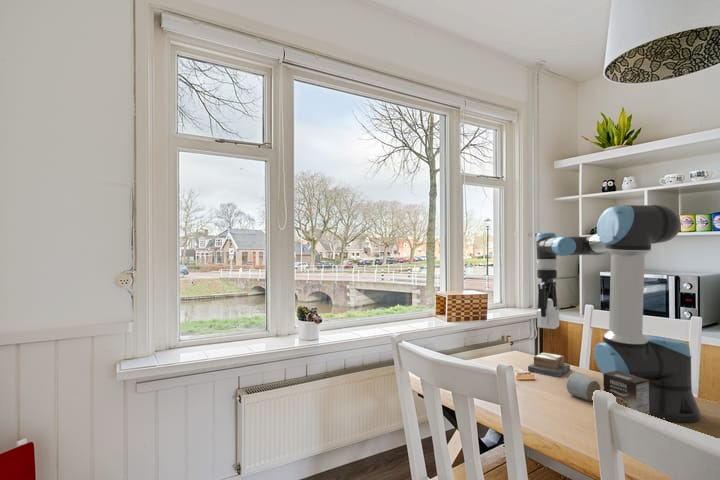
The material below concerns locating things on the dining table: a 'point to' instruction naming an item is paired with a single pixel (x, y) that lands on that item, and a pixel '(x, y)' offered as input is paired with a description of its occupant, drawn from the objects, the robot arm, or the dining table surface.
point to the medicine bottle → (549, 315)
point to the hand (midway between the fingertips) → (548, 322)
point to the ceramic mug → (582, 386)
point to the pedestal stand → (549, 364)
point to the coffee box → (628, 390)
